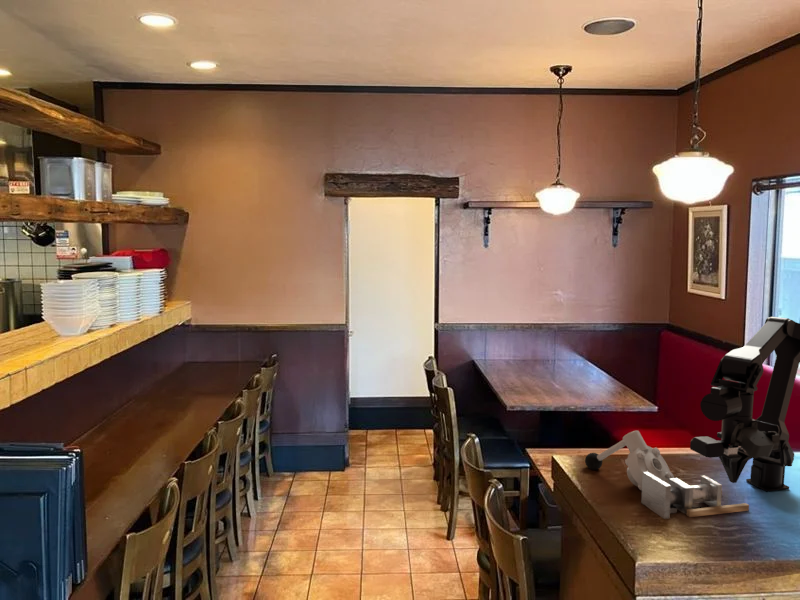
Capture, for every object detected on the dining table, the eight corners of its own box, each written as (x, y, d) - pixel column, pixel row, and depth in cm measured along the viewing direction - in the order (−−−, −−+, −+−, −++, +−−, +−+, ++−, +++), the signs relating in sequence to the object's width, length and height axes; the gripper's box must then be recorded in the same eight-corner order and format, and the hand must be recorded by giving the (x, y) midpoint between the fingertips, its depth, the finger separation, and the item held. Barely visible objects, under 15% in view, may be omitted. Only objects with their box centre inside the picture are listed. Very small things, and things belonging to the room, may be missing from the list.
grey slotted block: (703, 499, 144) (704, 475, 143) (720, 509, 139) (722, 485, 138) (671, 502, 142) (672, 478, 142) (687, 513, 137) (689, 488, 136)
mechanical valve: (656, 489, 142) (622, 427, 149) (599, 518, 154) (570, 459, 161) (681, 482, 148) (648, 423, 156) (625, 510, 160) (596, 454, 167)
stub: (668, 500, 143) (669, 469, 143) (692, 515, 136) (694, 483, 135) (641, 502, 142) (642, 472, 141) (664, 518, 134) (665, 486, 133)
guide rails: (718, 493, 147) (719, 488, 147) (748, 510, 138) (749, 505, 138) (662, 499, 144) (663, 494, 143) (689, 517, 135) (690, 511, 135)
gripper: (727, 426, 130) (722, 501, 132) (804, 420, 134) (799, 493, 136) (690, 411, 141) (686, 480, 142) (763, 406, 145) (758, 473, 147)
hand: (733, 482), depth 142 cm, fingers closed
